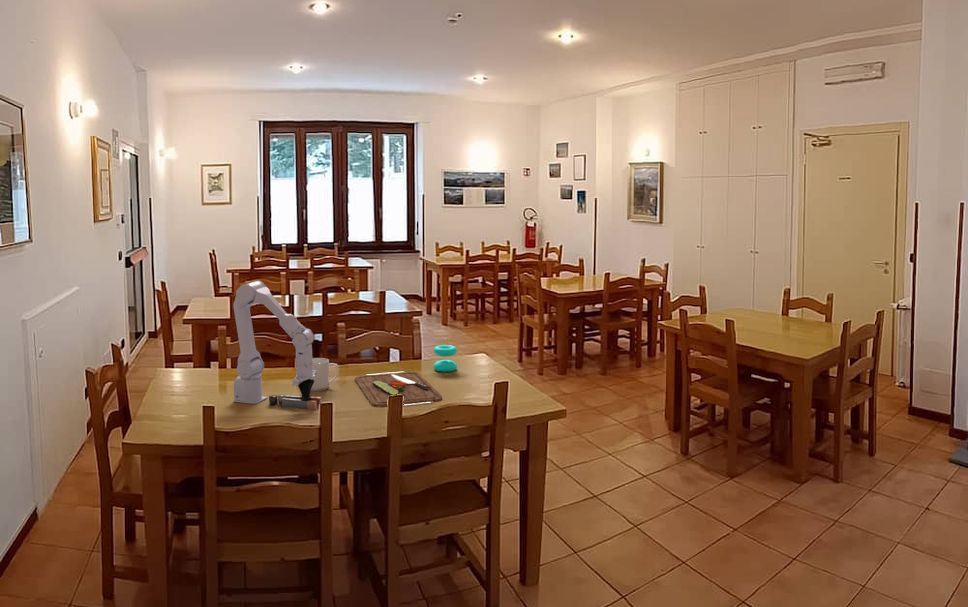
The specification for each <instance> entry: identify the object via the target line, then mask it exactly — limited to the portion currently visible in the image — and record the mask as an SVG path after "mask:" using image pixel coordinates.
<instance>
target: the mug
mask: <svg viewBox="0 0 968 607" xmlns="http://www.w3.org/2000/svg"><path fill="white" fill-rule="evenodd" d="M329 360H330V359H328V358H325V357H312V363H313V370H317V376H316V377H315V378H311V379H313V380H314V383H313V385H312V388H311V391H312V392H321V391H325V390H327V389H328V388H329V387H330V384H331V383H332V382H334V381H336V380H337V377H338V376H337V375H338V363H335V362H334V363H333V362H331V363H330V361H329ZM331 366H335V376H334V377H333V378H332V379H330V367H331ZM311 391H310V392H311Z"/></svg>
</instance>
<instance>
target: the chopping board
mask: <svg viewBox="0 0 968 607" xmlns="http://www.w3.org/2000/svg"><path fill="white" fill-rule="evenodd" d="M354 381H355V383H356V384H357V386H358V387H359V389H360V390H361V392H362V393H363V395H364V396H365V397H367V398H366V399H367V400H369V401H368V402H369V404H370V403H371V404H370V405H371V406H372V405H373V407H376V406H381V407H382V406H383V407H388V406H387V399H388V396H390V395H397V394H402V395H403V396H404V401H403V403H404V405H403V407H411V406H413V407H414V406H422V405H431V404H433V402H439V401H442V400H443V395H441V394H440V392H438V391H437V390H436V388H434V386H432V385H431V384H430V383H429V382H428V381H427V380H426V379H425V378H424V377H423V376H422V374H420V373H419V372H417V371H396V372H394V371H393V372H381V373H370V374H365V375H358V376H356V377H354Z"/></svg>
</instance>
